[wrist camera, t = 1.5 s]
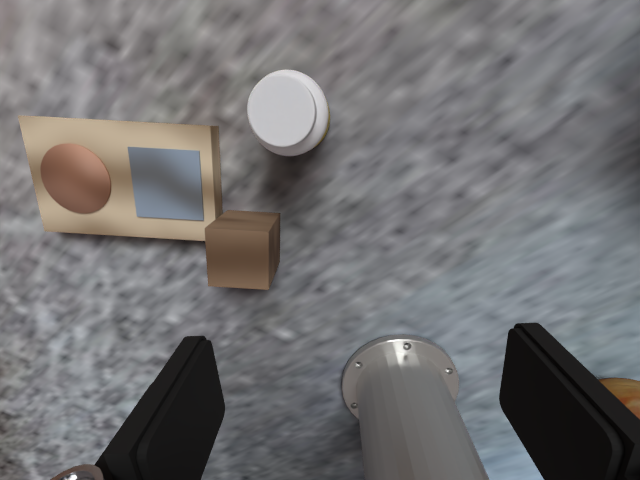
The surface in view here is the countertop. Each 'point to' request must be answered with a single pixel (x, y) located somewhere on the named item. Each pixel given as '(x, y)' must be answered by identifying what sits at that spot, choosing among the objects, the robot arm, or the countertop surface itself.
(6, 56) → the countertop surface
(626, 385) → the onion
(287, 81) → the supplement bottle
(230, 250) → the walnut block
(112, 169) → the board
